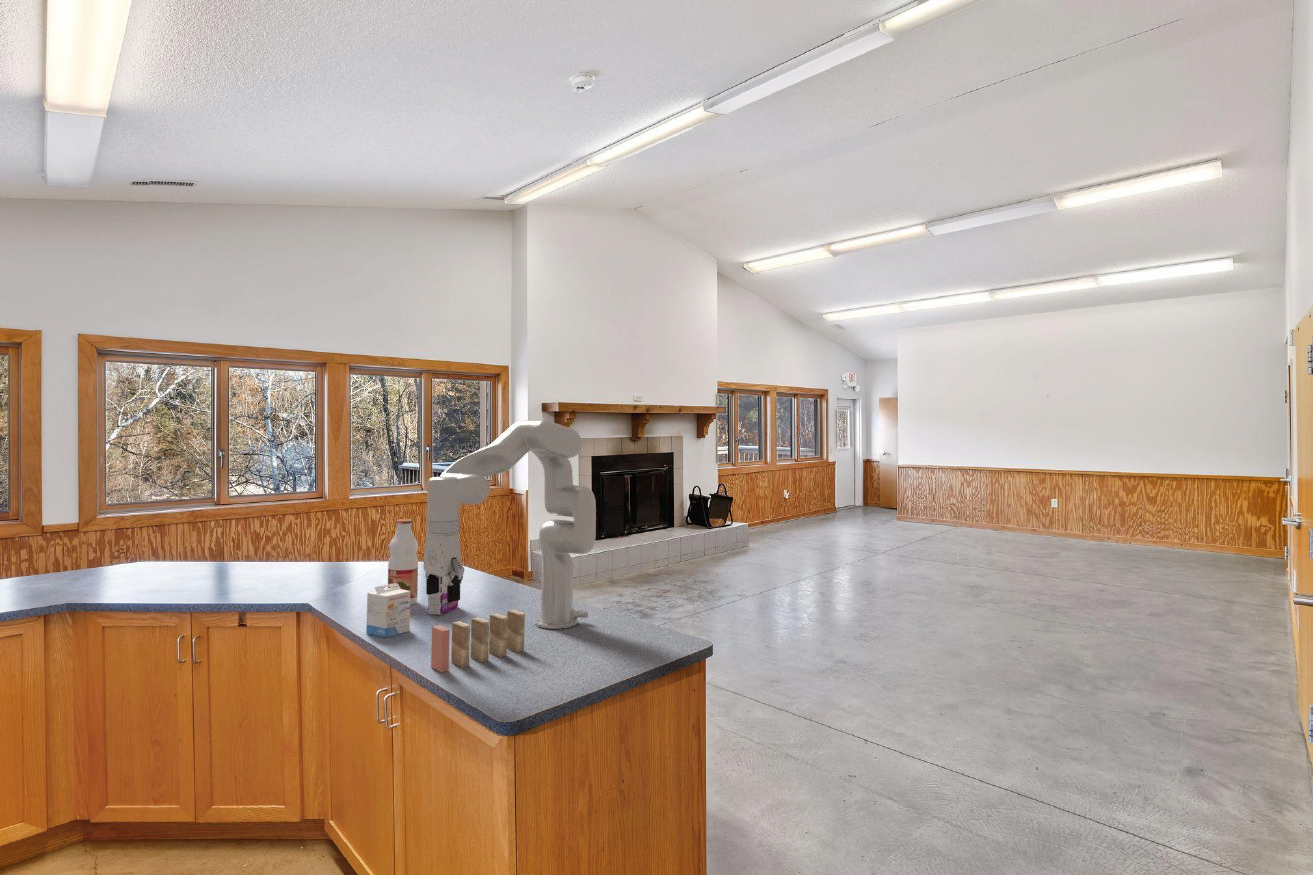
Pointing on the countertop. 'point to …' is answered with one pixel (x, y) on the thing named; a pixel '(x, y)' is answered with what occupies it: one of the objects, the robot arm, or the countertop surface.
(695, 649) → the countertop surface
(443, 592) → the candy bar box
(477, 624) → the domino
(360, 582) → the countertop surface
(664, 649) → the countertop surface
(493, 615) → the domino
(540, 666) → the countertop surface
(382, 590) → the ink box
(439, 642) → the domino
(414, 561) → the fruit juice
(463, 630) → the domino
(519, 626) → the domino
